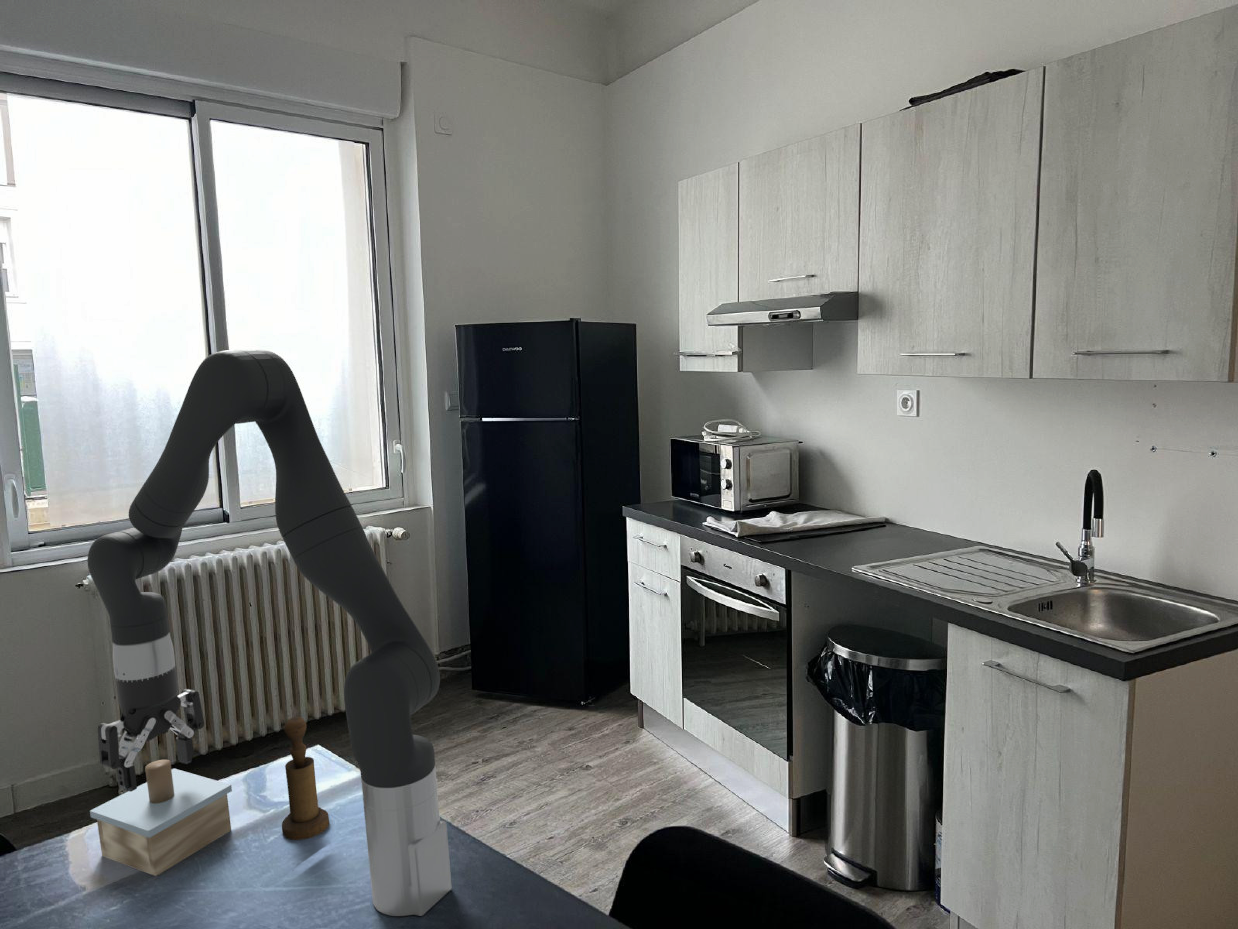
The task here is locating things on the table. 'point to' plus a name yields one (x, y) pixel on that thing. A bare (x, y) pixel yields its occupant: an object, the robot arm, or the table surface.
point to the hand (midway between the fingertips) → (158, 775)
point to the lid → (160, 800)
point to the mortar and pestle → (301, 789)
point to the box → (166, 839)
